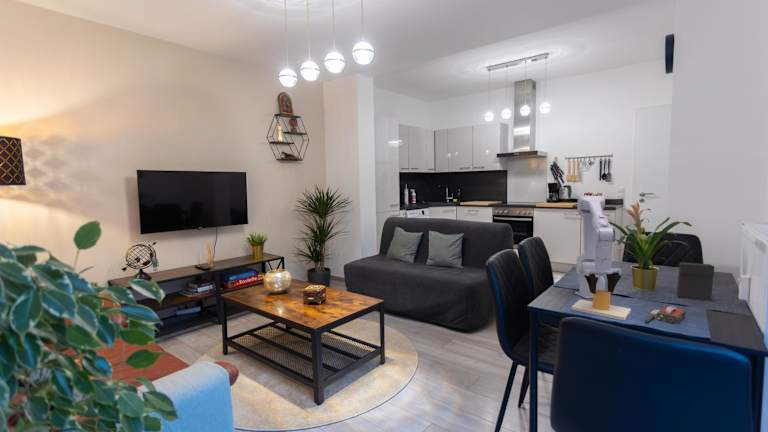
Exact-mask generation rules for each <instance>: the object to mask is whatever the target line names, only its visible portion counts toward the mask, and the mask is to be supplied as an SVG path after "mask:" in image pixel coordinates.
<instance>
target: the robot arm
mask: <svg viewBox="0 0 768 432" xmlns="http://www.w3.org/2000/svg"><path fill="white" fill-rule="evenodd" d="M576 203H577V205H576V206H577V215H578V216H581V219H582V234H583V236H582V237H583V241H582V242H583V243H582V244H583V253H581V254H580V255H578V256H577V258H576V265H575V266H576V267H575V269H576V273H577V274H578V275H579V291H575V292H574V294H575V295H578V296H580V297H583V299H593V294H595V293H596V290H597V289H600V290H606V281H607V291H609V292H610V294H613V293H614V291H615V289H616V286H617V283H619V281H620V280H621V278H622V275H621V274H622V270H623V269H621V268H619V267H612V265H613V248H614V246H613V245H614V243H615V241H616V239H617V238H616V236H617V233H616V229H615V228H616V227H614V226H612V225H611V224H610V221H609V220H608V216H606V215H605V214H604V212H603V211H604V208H605V206H606V199H605V196H604V195H582V194H581V195H579V196H578V197H577V202H576ZM603 275H606V279H607V280H606V281H605V278H604V277H603Z"/></svg>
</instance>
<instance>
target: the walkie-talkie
mask: <svg viewBox="0 0 768 432" xmlns="http://www.w3.org/2000/svg"><path fill="white" fill-rule="evenodd" d="M686 311H687V310H685V309H684V308H680V307H677V306H672V305H665V306H663V307H662V308H661V309H654V310H652V311H650V312H649V316H648V317H646V319H644V321H645V322H646V323H649V322H650V321H651V320H653V319H654V318H655V320H658V321H663V322H666V323H669V324H675V325H679V324H680V322H682V321H683V320H684V319H685V317H686Z"/></svg>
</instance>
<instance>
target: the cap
mask: <svg viewBox="0 0 768 432" xmlns="http://www.w3.org/2000/svg"><path fill="white" fill-rule="evenodd" d="M611 294H612V293H611V292H609V291H608V290H606V289H605V290H600V289H597V290H596V293H595V294H593V298H592V302H593V304H592V307H593V308H595V309H598V310H609V309H610V305H611Z"/></svg>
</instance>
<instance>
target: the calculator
mask: <svg viewBox="0 0 768 432" xmlns="http://www.w3.org/2000/svg"><path fill="white" fill-rule="evenodd" d="M678 265H679V266H678V277H677V291H676V292H677V293H676V294H677V295H676V296H677V297H678V298H679V299H685V298H689V299H688V300H695V299H700V300H699V301H705V300H711V301H712V295H713V282H714V276H715V266H714V265H712V264H711V263H710V264H707V263H695V262H679V264H678Z"/></svg>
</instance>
